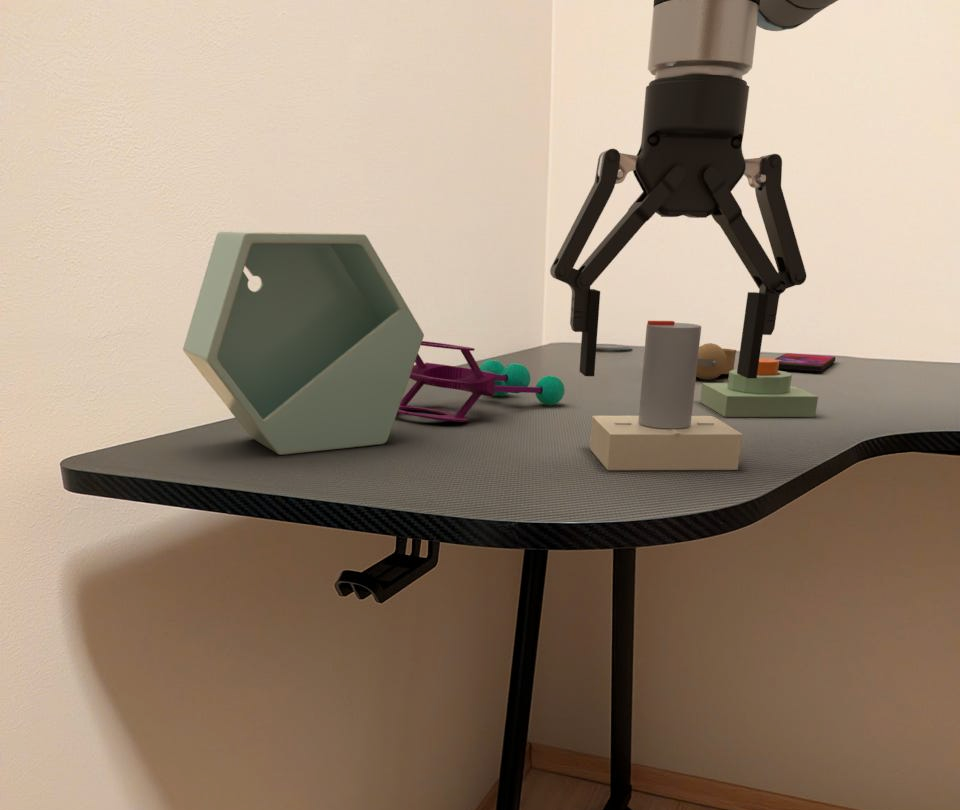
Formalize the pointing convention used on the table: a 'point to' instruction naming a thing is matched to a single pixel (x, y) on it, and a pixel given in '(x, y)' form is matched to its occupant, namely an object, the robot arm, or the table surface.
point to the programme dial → (669, 374)
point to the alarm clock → (714, 361)
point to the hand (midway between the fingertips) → (667, 375)
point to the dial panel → (665, 445)
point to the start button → (768, 367)
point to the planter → (304, 339)
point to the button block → (758, 397)
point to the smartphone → (804, 362)
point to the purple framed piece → (476, 382)
